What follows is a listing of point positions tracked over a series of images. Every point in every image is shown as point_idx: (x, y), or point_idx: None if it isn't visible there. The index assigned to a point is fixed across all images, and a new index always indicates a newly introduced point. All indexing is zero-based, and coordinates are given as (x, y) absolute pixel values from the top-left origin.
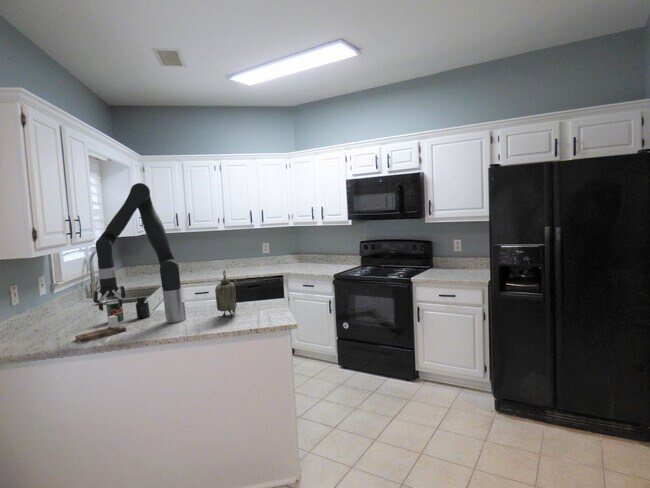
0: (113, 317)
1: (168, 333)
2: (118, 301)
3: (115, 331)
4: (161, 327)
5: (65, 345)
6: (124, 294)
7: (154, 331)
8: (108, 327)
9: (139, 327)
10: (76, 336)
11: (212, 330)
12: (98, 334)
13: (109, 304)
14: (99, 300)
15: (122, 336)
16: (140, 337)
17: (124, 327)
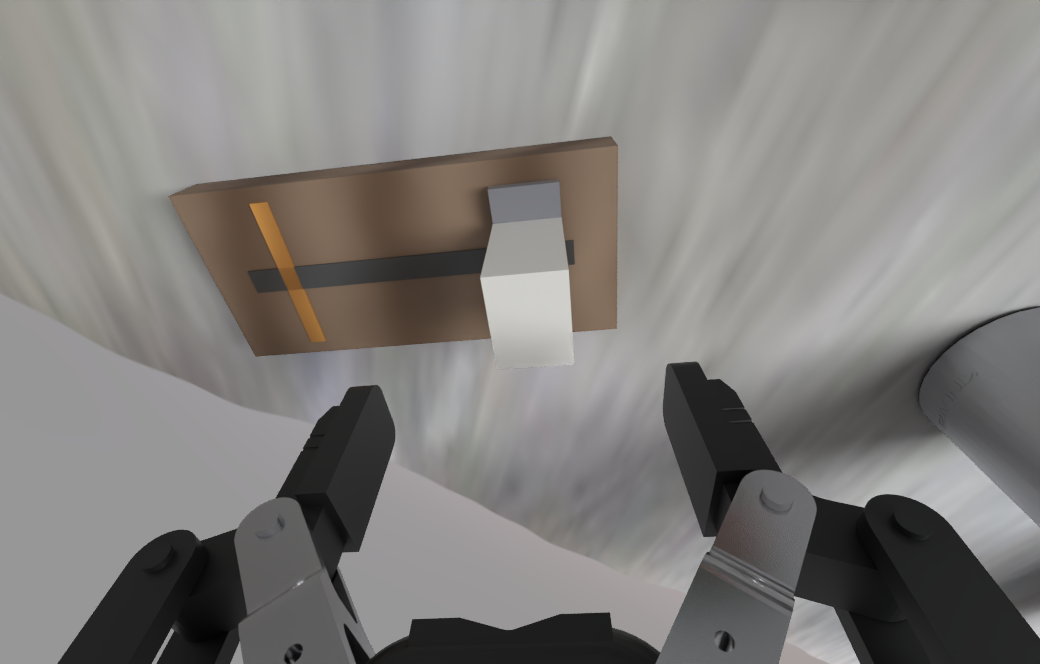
0: (528, 363)
1: None
2: (697, 455)
3: None
4: (800, 444)
5: (151, 289)
6: (902, 657)
7: None
8: (493, 167)
9: (732, 299)
10: (189, 234)
11: (839, 644)
12: (382, 346)
13: None
14: (269, 567)
15: (537, 421)
16: (601, 515)
17: (604, 328)
